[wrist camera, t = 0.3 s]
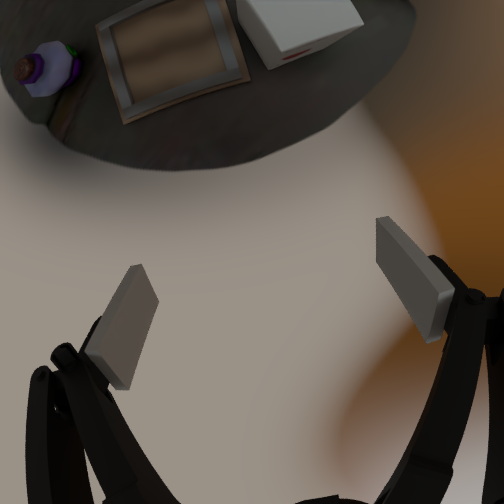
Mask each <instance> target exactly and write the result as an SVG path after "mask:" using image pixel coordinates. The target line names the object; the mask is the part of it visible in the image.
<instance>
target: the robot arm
mask: <svg viewBox="0 0 504 504" xmlns="http://www.w3.org/2000/svg"><path fill="white" fill-rule="evenodd" d="M376 262H377V264H378V265H379V267H380V268H381V270H382V271H383V273H384V274H385V276H386V277H387V279H388V281H389V282H390V284H391V285H392V287H393V288H394V290H395V292H396V293H397V295H398V296H399V298H400V300H401V301H402V303H403V304H404V306H405V308H406V309H407V311H408V313H409V314H410V316H411V318H412V320H413V321H414V323H415V325H416V326H417V328H418V330H419V332H420V333H421V335H422V337H423V338H424V340H425V342H426V344H427V343H430V342H433V341H436V340H439V339H441V337H442V333H443V330H445V331H446V333H447V334H448V337H447V340H446V343H445V345H444V348H443V354H442V358H441V361H440V364H439V367H438V371H437V374H436V377H435V380H434V383H433V386H432V388H431V391H430V394H429V397H428V400H427V402H426V405H425V408H424V410H423V412H422V415H421V417H420V419H419V422H418V424H417V427H416V429H415V431H414V433H413V436H412V438H411V440H410V442H409V444H408V446H407V448H406V450H405V452H404V454H403V456H402V458H401V460H400V462H399V464H398V466H397V468H396V469H395V471H394V473H393V475H392V476H391V478H390V480H389V481H388V483H387V484H386V486H385V487H384V489H383V490H382V492H381V494H380V495H379V497H378V498H377V500H376V501H375V503H374V504H440V503H441V501H442V499H443V497H444V495H445V493H446V491H447V488H448V486H449V484H450V481H451V478H452V476H453V468H452V465H453V462H454V459H455V457H456V454H457V451H458V449H459V446H460V443H461V440H462V437H463V434H464V431H465V428H466V424H467V421H468V417H469V414H470V410H471V406H472V403H473V399H474V395H475V390H476V386H477V381H478V376H479V371H480V366H481V359H482V353H483V347H484V345H485V350H486V359H487V369H488V384H489V441H488V454H487V464H486V472H485V480H484V486H483V495H482V504H504V288H503V289H502V292H501V294H500V297H486V296H485V294H484V293H483V292H481V291H480V290H477V289H471V288H469V289H468V287H467V286H466V285H465V284H464V283H463V282H462V281H461V279H460V278H459V277H458V276H457V275H456V274H455V273H454V272H453V270H452V269H451V268H450V267H448V265H447V264H446V263H445V262H444V261H443V260H442V259H441V258H439V257H437V256H435V255H430V256H426V254H424V252H423V251H422V250H421V249H420V248H419V247H418V246H417V245H416V244H415V243H414V242H413V241H412V240H411V238H410V237H409V236H408V235H407V234H406V233H405V232H403V230H402V229H401V228H400V227H399V226H398V225H397V224H396V223H395V222H393V220H392V219H391V218H390V217H389V216H386V217H381V218H376ZM158 303H159V301H158V298H157V296H156V294H155V292H154V290H153V288H152V286H151V284H150V281H149V279H148V277H147V275H146V273H145V270H144V268H143V266H142V264H139V265H134V266H130V268H129V270H128V271H127V273H126V275H125V276H124V278H123V280H122V282H121V283H120V285H119V287H118V288H117V290H116V292H115V294H114V296H113V297H112V299H111V301H110V303H109V305H108V306H107V308H106V310H105V312H104V314H103V315H102V316H100V317H99V318H98V319H97V320H96V321H95V322H94V324H93V325H92V327H91V329H90V332H89V333H88V335H87V337H86V339H85V341H84V343H83V345H82V347H81V349H80V351H79V353H77V351H76V350H75V349H74V347H73V346H72V345H71V343H68V342H67V343H63V344H61V345H59V346H58V347H56V348H55V349H54V351H53V352H52V354H51V358H50V360H51V361H52V362H53V363H54V365H55V366H56V367H57V368H58V369H59V370H57V371H54V372H52V371H51V370H50V369H49V368H48V366H40V367H39V368H37V369H36V370H35V371H34V373H33V374H32V376H31V381H30V388H29V397H28V407H27V420H26V444H25V446H26V447H25V448H26V449H25V459H26V460H25V461H26V484H27V496H28V504H94V501H93V496H92V492H91V487H90V482H89V477H88V471H87V466H86V459H85V452H84V449H85V451H86V454H87V456H88V459H89V461H90V464H91V466H92V468H93V471H94V473H95V475H96V477H97V479H98V481H99V484H100V486H101V488H102V490H103V492H104V494H105V496H106V499H105V500H104V501H102V502H103V503H102V504H181V503H179V502H178V501H177V500H176V498H175V497H174V496H173V495H172V493H171V492H170V490H169V489H168V488H167V486H166V485H165V484H164V482H163V481H162V479H161V478H160V476H159V475H158V474H157V472H156V471H155V469H154V468H153V466H152V465H151V463H150V462H149V460H148V458H147V457H146V455H145V454H144V452H143V450H142V449H141V447H140V446H139V444H138V442H137V441H136V439H135V437H134V435H133V434H132V432H131V430H130V429H129V427H128V425H127V423H126V421H125V419H124V418H123V416H122V414H121V412H120V410H119V408H118V406H117V404H116V402H115V400H114V398H113V396H112V394H111V392H110V391H109V390H108V389H107V388H108V385H109V383H110V384H111V385H112V386H113V387H114V388H115V389H116V390H129V388H130V385H131V382H132V379H133V376H134V373H135V369H136V366H137V363H138V360H139V357H140V354H141V351H142V348H143V345H144V342H145V339H146V337H147V334H148V331H149V328H150V325H151V322H152V319H153V317H154V314H155V311H156V309H157V306H158ZM55 408H56V410H55ZM295 504H368V503H365V502H362V501H358V500H352V499H339V496H338V495H333V496H327V497H322V498H316V499H310V500H304V501H301V502H298V503H295Z"/></svg>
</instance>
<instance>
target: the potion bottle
mask: <svg viewBox="0 0 504 504" xmlns="http://www.w3.org/2000/svg"><path fill="white" fill-rule="evenodd" d="M83 65H84V62H83V61H82V59H81V58H80V56H79V55H78V54H77V52H76V50H75V49H74V48H73V47H71V46H69V45H67V46H65V45H64V44H62V43H61V42H59V41H54V42H48V43H43V44H40V46H39V47H38V48H37V49H36V50H35V52H34V53H33V54H29V55H25V57H24V58H23V59H20V60H19V61H18V62H17V63H16V65H15V67H14V77H15V79H16V80H18V81H19V82H20V84H21V85H25V86H26V88H27V90H28V91H29V93H30V95H31V96H32V97H41V96H49V95H52V94H54V93H56V92H58V91H60V90H61V89H62V88H64V87H66V86H72V85H73V84H74V83H75V82H76V81H77V80H78V79H79V78H80V77H81V76H82V70H83Z"/></svg>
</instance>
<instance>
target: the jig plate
mask: <svg viewBox="0 0 504 504" xmlns="http://www.w3.org/2000/svg"><path fill="white" fill-rule="evenodd" d="M95 28H96V32H97V36H98V40H99V44H100V48H101V52H102V55H103V59H104V63H105V66H106V70H107V73H108V77H109V80H110V83H111V87H112V90H113V93H114V96H115V100H116V103H117V106H118V109H119V112H120V115H121V118H122V121H123V124H128V123H131V122H133V121H136V120H138V119H140V118H143V117H145V116H147V115H150V114H152V113H155V112H157V111H160V110H162V109H165V108H167V107H170V106H173V105H176V104H178V103H181V102H184V101H187V100H190V99H193V98H195V97H198V96H202V95H205V94H208V93H211V92H214V91H218V90H221V89H224V88H228V87H231V86H235V85H239V84H242V83H246V82H250V81H251V79H250V76H249V72H248V69H247V66H246V62H245V59H244V56H243V53H242V50H241V47H240V43H239V40H238V37H237V34H236V31H235V28H234V25H233V22H232V19H231V16H230V13H229V10H228V7H227V4H226V1H225V0H144V1H141V2H139V3H137V4H135V5H132V6H130V7H128V8H126V9H124V10H122V11H120V12H118V13H116V14H114V15H112V16H110V17H108V18H107V19H105V20H103V21H101V22H99V23H98V24H97V25H95Z"/></svg>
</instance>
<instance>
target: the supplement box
mask: <svg viewBox="0 0 504 504" xmlns="http://www.w3.org/2000/svg"><path fill="white" fill-rule="evenodd" d="M236 4H237V15H238V22H239V24H240V25H241V27H242V29H243V30H244V32H245V33H246V35H247V36H248V38H249V40H250V41H251V43H252V45H253V46H254V48H255V49H256V51H257V53H258V55H259V56H260V58H261V60H262V61H263V63H264V65H265V66H266V68H267V69H268V70H271V69H274V68H276V67H279V66H281V65H283V64H286V63H288V62H291V61H293V60H296V59H298V58H301V57H303V56H306V55H309V54H311V53H314V52H317V51H319V50H322V49H324V48H326V47H327V46H329V45H331V44H332V43H334V42H335V41H337V40H339V39H340V38H342V37H344V36H345V35H347V34H349V33H350V32H352V31H354V30H355V29H357V28H359V27H361V26H363V25H364V23H363V21H362V20H361V18H360V16H359V14H358V12H357V11H356V9H355V7H354V6H353V4H352V2H351V1H350V0H236Z"/></svg>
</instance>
